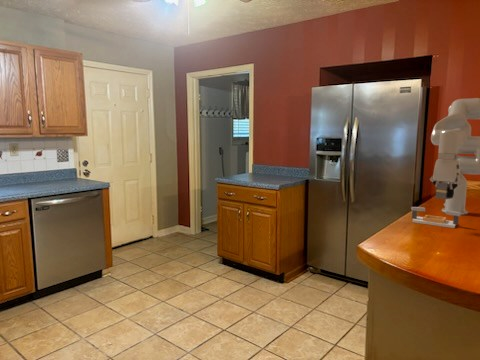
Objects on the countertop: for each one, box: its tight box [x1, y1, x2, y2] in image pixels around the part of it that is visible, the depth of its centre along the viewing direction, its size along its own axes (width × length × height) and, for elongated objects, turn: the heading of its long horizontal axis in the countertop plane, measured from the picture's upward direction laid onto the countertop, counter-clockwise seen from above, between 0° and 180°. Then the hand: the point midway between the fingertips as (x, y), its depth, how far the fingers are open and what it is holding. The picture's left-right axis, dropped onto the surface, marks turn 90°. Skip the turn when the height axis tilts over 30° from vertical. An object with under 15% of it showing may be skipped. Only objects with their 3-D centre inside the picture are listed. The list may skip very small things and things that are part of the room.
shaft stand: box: [411, 206, 462, 229], centre depth 175 cm, size 21×10×7 cm, turn 53°
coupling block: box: [435, 182, 453, 201], centre depth 164 cm, size 5×6×7 cm
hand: (444, 196), depth 164 cm, fingers closed on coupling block, 4 cm apart
